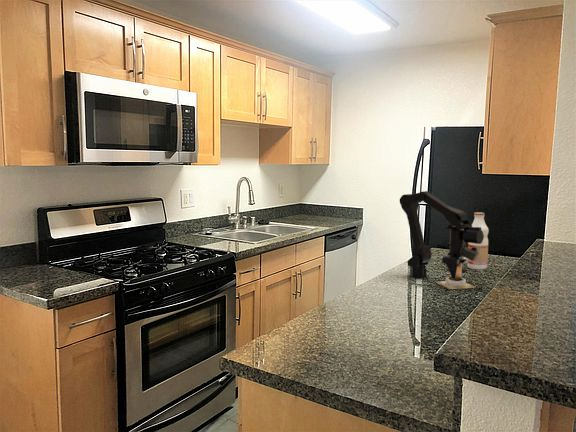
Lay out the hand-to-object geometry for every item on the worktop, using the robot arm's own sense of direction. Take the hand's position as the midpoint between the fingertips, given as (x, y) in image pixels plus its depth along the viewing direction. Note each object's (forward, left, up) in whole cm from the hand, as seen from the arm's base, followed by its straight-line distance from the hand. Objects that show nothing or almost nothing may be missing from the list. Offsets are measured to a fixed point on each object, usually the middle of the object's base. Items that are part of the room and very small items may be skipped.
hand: (455, 276), depth 198 cm
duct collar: (0, 0, -3) cm, 3 cm away
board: (0, 0, -4) cm, 4 cm away
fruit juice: (+29, +32, -5) cm, 43 cm away
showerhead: (+16, +28, -5) cm, 33 cm away
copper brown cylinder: (0, 0, -2) cm, 2 cm away
